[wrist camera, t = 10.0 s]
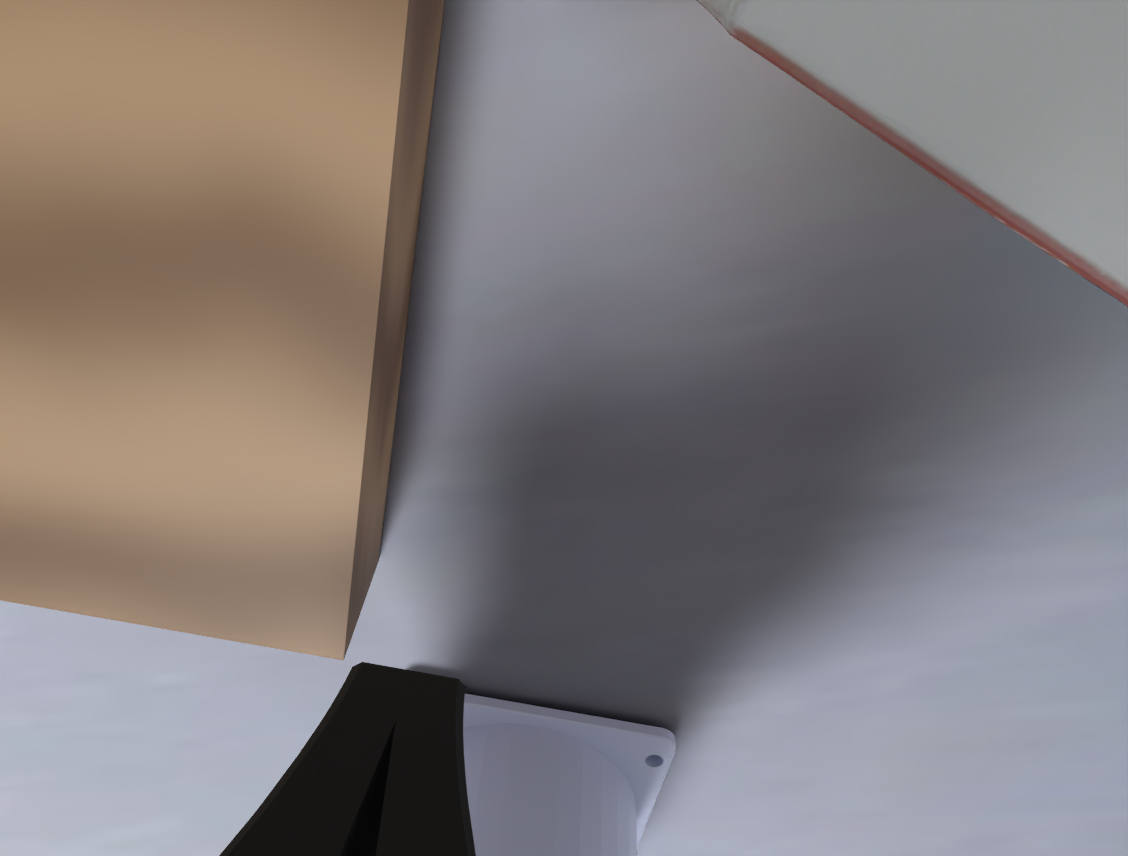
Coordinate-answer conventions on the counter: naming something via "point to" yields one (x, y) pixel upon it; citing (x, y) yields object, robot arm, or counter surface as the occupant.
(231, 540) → the brown flat block
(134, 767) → the counter surface
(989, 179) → the small box
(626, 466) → the counter surface
